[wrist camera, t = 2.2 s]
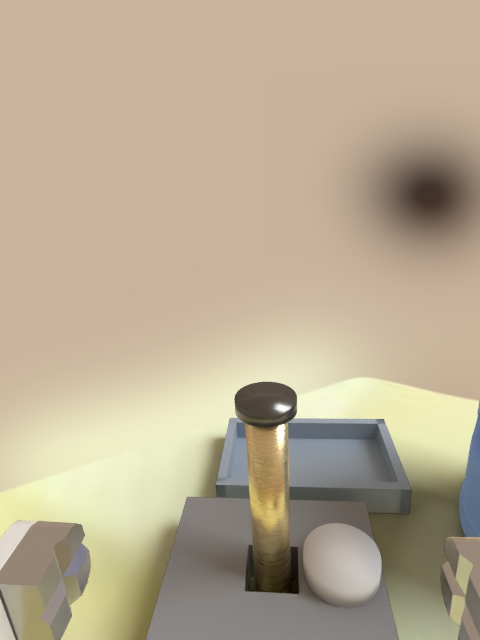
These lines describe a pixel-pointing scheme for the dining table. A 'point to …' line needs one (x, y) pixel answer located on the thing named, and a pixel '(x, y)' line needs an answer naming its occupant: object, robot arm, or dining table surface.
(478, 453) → the water jug
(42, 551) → the robot arm
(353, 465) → the tray
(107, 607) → the dining table surface
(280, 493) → the lock pin
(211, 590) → the block
